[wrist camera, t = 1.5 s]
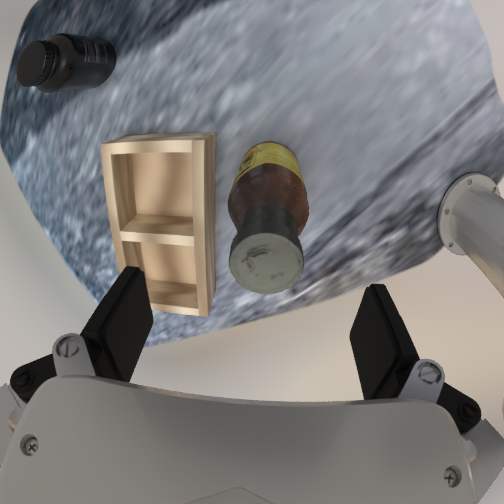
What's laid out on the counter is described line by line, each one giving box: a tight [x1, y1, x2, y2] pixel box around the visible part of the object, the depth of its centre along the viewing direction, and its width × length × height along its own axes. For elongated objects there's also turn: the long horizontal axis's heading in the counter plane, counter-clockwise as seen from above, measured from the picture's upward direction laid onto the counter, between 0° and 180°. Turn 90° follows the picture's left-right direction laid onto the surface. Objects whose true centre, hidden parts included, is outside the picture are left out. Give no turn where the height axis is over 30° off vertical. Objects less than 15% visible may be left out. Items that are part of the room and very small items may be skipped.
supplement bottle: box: [16, 33, 115, 93], centre depth 21 cm, size 7×7×12 cm
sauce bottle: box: [228, 142, 309, 294], centre depth 23 cm, size 7×6×20 cm
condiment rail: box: [101, 133, 216, 317], centre depth 33 cm, size 11×22×6 cm, turn 177°
